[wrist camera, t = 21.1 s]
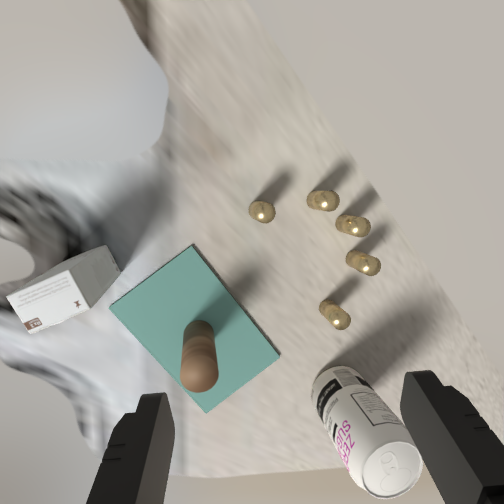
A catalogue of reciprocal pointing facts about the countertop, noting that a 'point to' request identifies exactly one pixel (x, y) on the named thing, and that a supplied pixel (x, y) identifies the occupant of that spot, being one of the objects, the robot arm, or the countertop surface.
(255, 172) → the countertop surface
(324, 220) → the countertop surface
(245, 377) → the teal mat
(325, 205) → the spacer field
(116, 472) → the robot arm
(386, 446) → the supplement can
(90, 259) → the skincare box
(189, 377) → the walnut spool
